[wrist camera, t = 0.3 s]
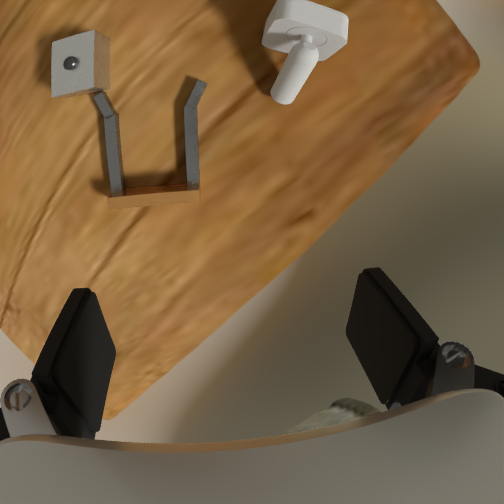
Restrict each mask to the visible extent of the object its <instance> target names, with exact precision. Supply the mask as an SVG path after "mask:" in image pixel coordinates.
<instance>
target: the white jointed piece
mask: <svg viewBox="0 0 504 504" xmlns="http://www.w3.org/2000/svg"><path fill="white" fill-rule="evenodd" d="M348 21H349V20H348V17H347V16H346V15H345V14H343V13H341V12H339V11H336V10H333V9H331V8H328V7H325V6H322V5H319V4H316V3H313V2H310V1H307V0H277V2H276V3H275V5H274V7H273V9H272V11H271V13H270V14H269V16H268V18H267V20H266V23H265V28H264V33H263V38H262V45H263V46H265V47H266V48H269V49H273V50H277V51H281V52H285V53H289V54H288V56H287V58H286V60H285V62H284V64H283V66H282V68H281V70H280V72H279V74H278V76H277V78H276V80H275V83H274V85H273V87H272V89H271V91H270V94H271V97H272V98H273V99H274V100H275V101H276V102H278V103H280V104H290V103H292V102H293V101H294V99H295V97H296V96H297V94H298V92H299V91H300V89H301V87H302V86H303V84H304V83H305V81H306V79H307V78H308V76H309V75H310V73H311V71H312V70H313V68H314V66H315V65H316V63H317V61H324V60H326V59H327V58H329V57H330V56H331V55H333V54H334V53H335V52H337V51H338V50H339V49H341V48H342V47H343V46H344V45H346V44H347V35H348Z"/></svg>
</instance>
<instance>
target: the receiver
mask: <svg viewBox="0 0 504 504" xmlns="http://www.w3.org/2000/svg"><path fill="white" fill-rule="evenodd" d="M206 86H207V83H205V82H202V81H200V80H197V82H196V85H195V87H194V89H193V91H192V93H191V95H190V97H189V100H188V102H187V104H186V106H184V126H185V150H186V169H187V183H186V184H173V185H160V186H149V187H138V188H128V189H125V182H124V174H123V165H122V155H121V143H120V130H119V114H117V113H116V111H115V109H114V107H113V106H112V104H111V102H110V100H109V98H108V96H107V94H106V92H101V93H99V94H98V95H96V96H95V97H94V99H95V101H96V103H97V105H98V107H99V108H100V110H101V112H102V114H103V116H104V127H105V139H106V150H107V160H108V169H109V177H110V184H111V192H112V194H111V195H110V196H109V197H108V198H107V200H108V206H109V210H110V209H120V208H130V207H141V206H153V205H165V204H179V203H194V202H200V175H199V152H198V121H197V105H198V103H199V101H200V98H201V96H202V94H203V92H204V90H205V88H206Z"/></svg>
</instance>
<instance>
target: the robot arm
mask: <svg viewBox="0 0 504 504" xmlns="http://www.w3.org/2000/svg"><path fill="white" fill-rule="evenodd" d="M346 335H347V338H348V340H349V342H350V344H351V345H352V347H353V349H354V351H355V353H356V355H357V357H358V359H359V361H360V363H361V365H362V367H363V369H364V370H365V372H366V374H367V376H368V378H369V380H370V382H371V384H372V386H373V388H374V390H375V392H376V394H377V396H378V398H379V400H380V402H381V403H382V404H385V405H386V407H387V409H388V411H385V412H381V413H378V414H375V415H371V416H368V417H364V418H360V419H357V420H353V421H349V422H345V423H341V424H337V425H332V426H328V427H323V428H318V429H313V430H308V431H303V432H298V433H292V434H286V435H279V436H272V437H265V438H257V439H249V440H238V441H227V442H211V443H188V444H187V443H185V444H159V443H157V444H156V443H133V442H118V441H105V440H95V439H94V438H95V433H96V432H98V431H99V430H100V427H101V421H102V416H103V411H104V406H105V401H106V396H107V391H108V386H109V382H110V378H111V373H112V369H113V365H114V361H115V356H116V350H115V346H114V343H113V341H112V338H111V336H110V333H109V330H108V328H107V325H106V322H105V320H104V317H103V314H102V311H101V308H100V305H99V302H98V299H97V296H96V294H95V293H94V292H91V290H90V289H89V288H75V289H73V291H72V292H71V294H70V296H69V298H68V299H67V301H66V303H65V305H64V307H63V309H62V311H61V313H60V314H59V316H58V318H57V320H56V322H55V324H54V326H53V328H52V330H51V332H50V334H49V336H48V338H47V340H46V343H45V345H44V347H43V349H42V351H41V353H40V356H39V358H38V360H37V362H36V365H35V367H34V369H33V371H32V378H31V380H30V381H29V380H27V379H17V380H14V381H12V382H11V383H9V384H8V385H7V386H6V387H5V388H4V390H3V392H2V394H1V398H0V403H1V408H0V504H504V375H503V374H500V373H497V372H494V371H492V370H489V369H486V368H483V367H480V366H477V365H475V361H474V357H473V355H472V353H471V351H470V350H469V349H468V348H467V347H466V346H464V345H462V344H460V343H458V342H453V341H451V342H445V343H443V344H442V345H441V346H440V345H439V344H438V343H437V342H438V340H439V338H438V337H437V336H436V334H435V333H434V332H433V330H432V329H431V328H430V327H429V325H428V324H427V323H426V322H425V320H424V319H423V318H422V317H421V316H420V314H419V313H418V312H417V311H416V309H415V308H414V307H413V306H412V304H411V303H410V302H409V301H408V300H407V299H406V297H405V296H404V295H403V294H402V293H401V292H400V290H399V289H398V288H397V287H396V286H395V284H394V283H393V282H392V281H391V280H390V279H389V278H388V276H387V275H386V274H385V273H384V272H383V271H382V270H381V269H380V268H378V267H377V268H367V269H364V270H363V272H362V273H360V274H359V276H358V280H357V285H356V289H355V294H354V298H353V303H352V307H351V311H350V315H349V319H348V323H347V327H346ZM86 438H87V439H86Z"/></svg>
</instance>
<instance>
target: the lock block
mask: <svg viewBox="0 0 504 504" xmlns="http://www.w3.org/2000/svg"><path fill="white" fill-rule="evenodd" d="M107 89H110V38H108V37H106V36H105V35H103V34H101V33H99V32H98V31H96V30H92V31H88V32H84V33H80V34H77V35H73V36H70V37H67V38H64V39H60V40H57V41H54V42H52V59H51V90H52V98H59V97H75V96H79V95H83V94H88V93H92V92H97V91H102V90H107Z"/></svg>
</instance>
